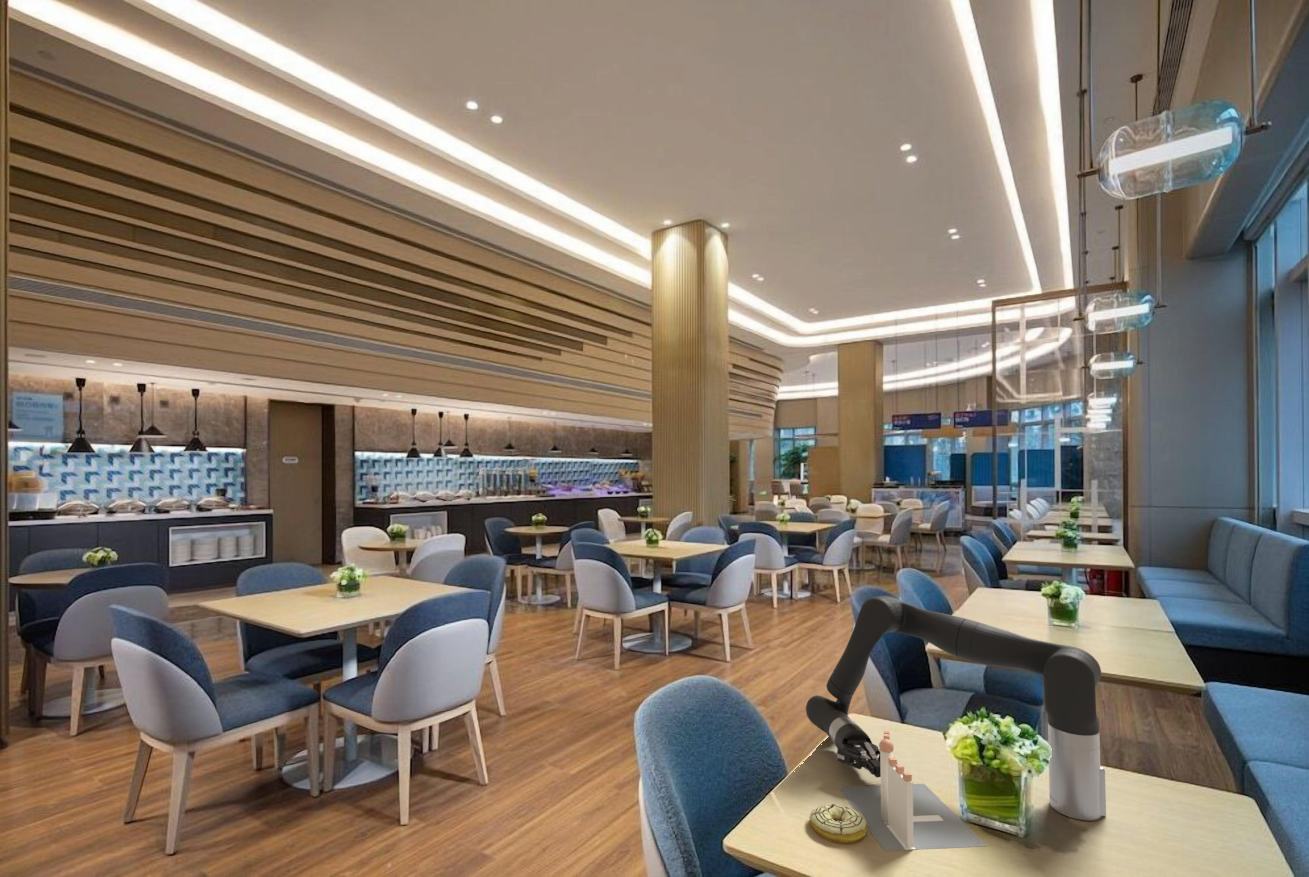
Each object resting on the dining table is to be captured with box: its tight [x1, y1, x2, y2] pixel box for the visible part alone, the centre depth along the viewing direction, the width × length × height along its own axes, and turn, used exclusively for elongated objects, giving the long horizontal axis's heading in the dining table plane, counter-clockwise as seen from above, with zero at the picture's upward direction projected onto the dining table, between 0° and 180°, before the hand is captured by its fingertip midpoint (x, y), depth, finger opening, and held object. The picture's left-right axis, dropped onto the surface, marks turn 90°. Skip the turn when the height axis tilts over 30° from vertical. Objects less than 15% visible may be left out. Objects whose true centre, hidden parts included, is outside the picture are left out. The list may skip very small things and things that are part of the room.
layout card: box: [838, 783, 987, 852], centre depth 134 cm, size 20×24×1 cm
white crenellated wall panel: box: [883, 730, 891, 741], centre depth 138 cm, size 10×1×13 cm, turn 160°
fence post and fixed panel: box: [878, 738, 914, 848], centre depth 128 cm, size 3×11×16 cm, turn 5°
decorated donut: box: [809, 803, 868, 844], centre depth 129 cm, size 10×11×4 cm
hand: (879, 772), depth 140 cm, fingers closed
